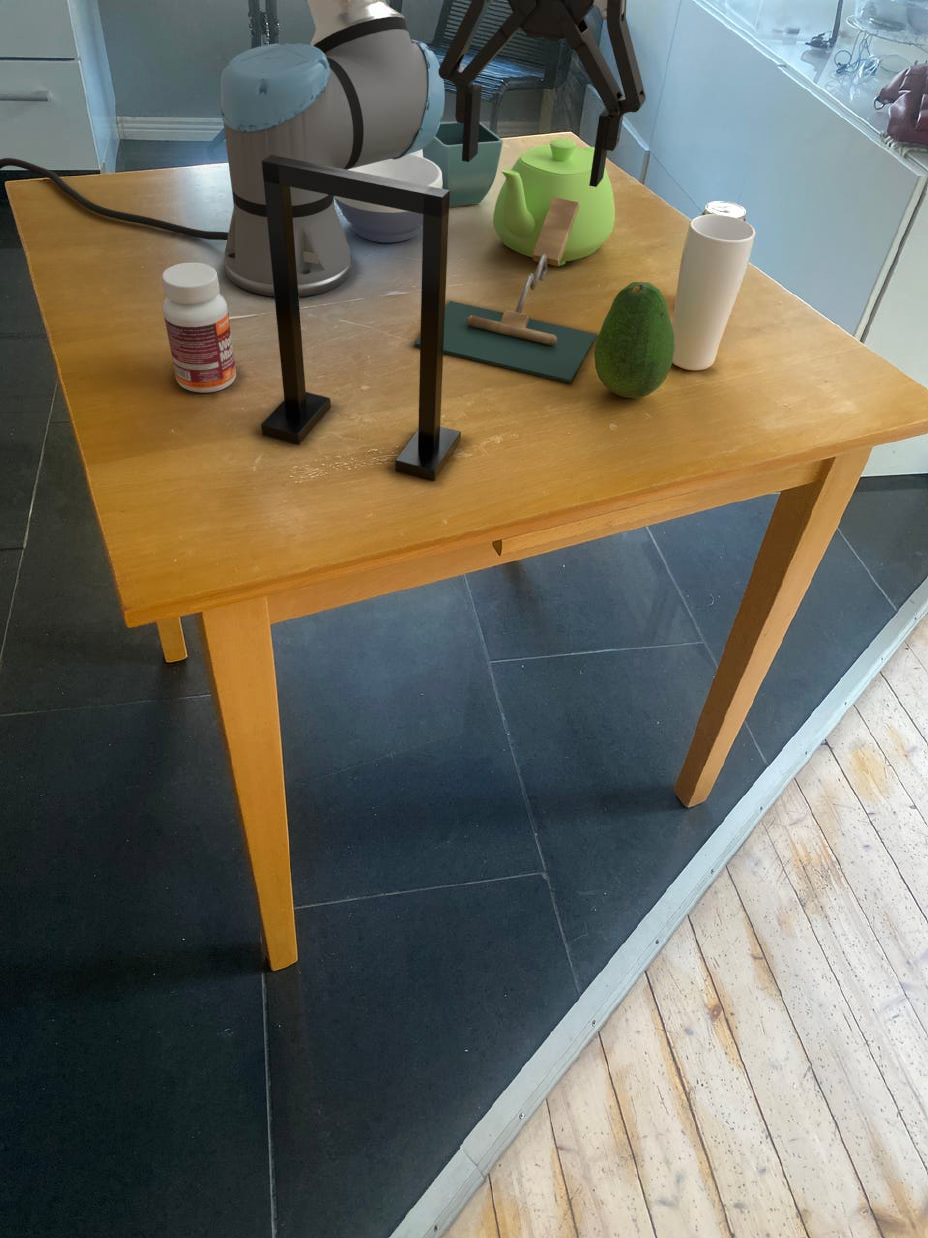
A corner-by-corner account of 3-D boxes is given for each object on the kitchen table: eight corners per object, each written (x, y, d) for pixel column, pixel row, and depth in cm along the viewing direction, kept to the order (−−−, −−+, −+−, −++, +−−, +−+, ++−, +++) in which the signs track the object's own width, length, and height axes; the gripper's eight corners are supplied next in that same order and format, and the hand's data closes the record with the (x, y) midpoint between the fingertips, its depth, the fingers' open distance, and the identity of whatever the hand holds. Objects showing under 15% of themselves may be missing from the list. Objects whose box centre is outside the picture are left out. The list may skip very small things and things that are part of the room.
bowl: (448, 252, 122) (451, 192, 117) (335, 255, 120) (332, 193, 115) (432, 206, 132) (434, 149, 127) (327, 208, 130) (325, 149, 125)
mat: (414, 346, 105) (415, 343, 105) (450, 303, 113) (450, 300, 112) (570, 383, 102) (570, 380, 101) (596, 336, 109) (596, 333, 109)
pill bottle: (238, 392, 97) (224, 287, 89) (176, 397, 96) (156, 290, 88) (234, 361, 101) (221, 258, 93) (175, 365, 100) (156, 261, 92)
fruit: (651, 422, 97) (676, 313, 89) (578, 402, 99) (595, 293, 90) (671, 385, 102) (696, 279, 94) (602, 367, 104) (620, 261, 96)
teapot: (541, 295, 115) (554, 185, 106) (447, 256, 122) (452, 148, 112) (638, 242, 128) (657, 138, 118) (548, 208, 134) (560, 108, 125)
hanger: (464, 321, 108) (520, 170, 111) (471, 346, 113) (524, 201, 116) (554, 343, 105) (609, 188, 108) (557, 367, 111) (609, 218, 114)
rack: (261, 434, 92) (230, 169, 74) (295, 398, 97) (273, 140, 79) (434, 481, 88) (444, 213, 71) (460, 441, 93) (476, 180, 75)
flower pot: (473, 184, 139) (477, 118, 132) (499, 208, 133) (504, 140, 127) (417, 190, 136) (419, 123, 130) (441, 215, 130) (444, 146, 124)
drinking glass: (683, 381, 103) (717, 245, 92) (647, 351, 107) (675, 218, 97) (732, 368, 106) (770, 235, 95) (695, 340, 110) (728, 209, 99)
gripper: (407, -98, 82) (405, 158, 97) (692, -59, 77) (642, 205, 92) (439, -110, 87) (432, 136, 102) (708, -74, 82) (658, 179, 97)
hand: (532, 169), depth 97 cm, fingers open, 13 cm apart
